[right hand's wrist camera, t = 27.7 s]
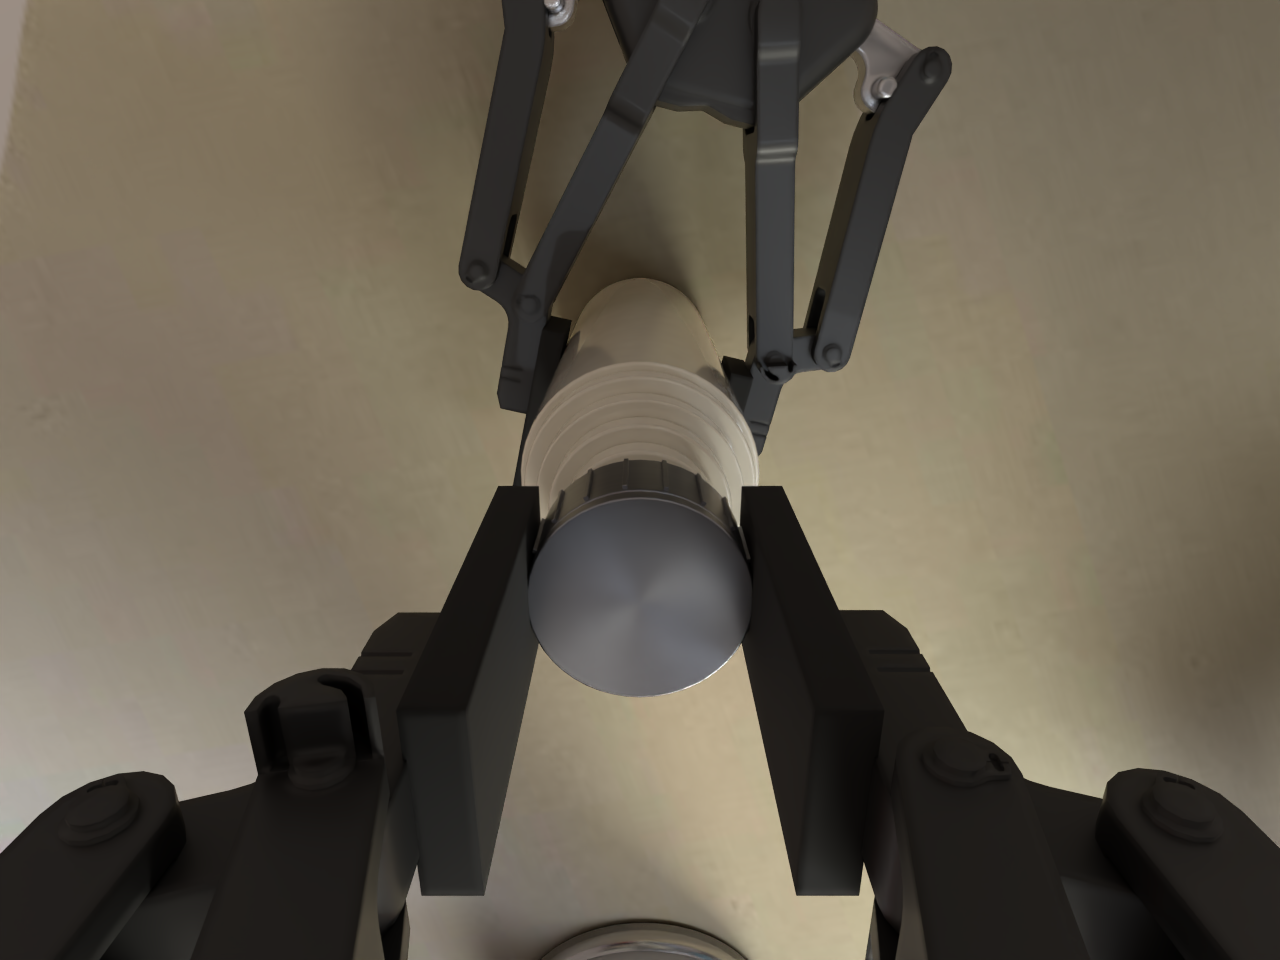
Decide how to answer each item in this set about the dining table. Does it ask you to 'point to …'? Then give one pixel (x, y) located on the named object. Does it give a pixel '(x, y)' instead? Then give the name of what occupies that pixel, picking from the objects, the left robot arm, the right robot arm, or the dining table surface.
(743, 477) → the bottle
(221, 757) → the dining table surface
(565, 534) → the cap
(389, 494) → the dining table surface
